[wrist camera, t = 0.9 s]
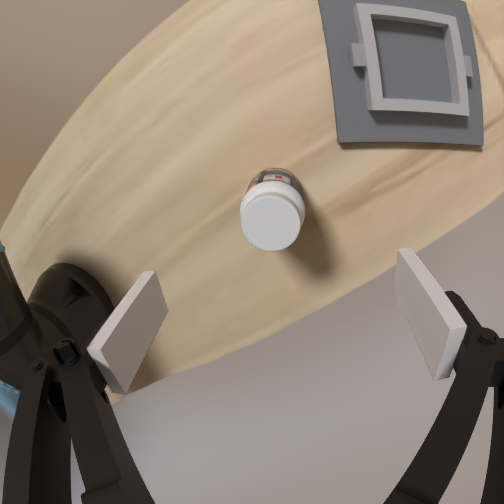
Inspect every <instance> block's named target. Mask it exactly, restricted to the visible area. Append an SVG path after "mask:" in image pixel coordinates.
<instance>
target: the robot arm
mask: <svg viewBox="0 0 504 504" xmlns="http://www.w3.org/2000/svg"><path fill="white" fill-rule="evenodd" d="M394 295H395V297H396V299H397V301H398V303H399V305H400V307H401V309H402V311H403V313H404V315H405V317H406V319H407V322H408V324H409V326H410V328H411V330H412V332H413V334H414V337H415V339H416V341H417V343H418V346H419V348H420V350H421V352H422V355H423V357H424V359H425V362H426V364H427V366H428V369H429V371H430V374H431V376H432V378H433V381H436V380H440V379H444V378H448V377H450V374H451V371H452V369H453V368H454V370H455V372H456V377H455V379H454V382H453V384H452V386H451V388H450V391H449V393H448V395H447V398H446V400H445V402H444V404H443V406H442V408H441V410H440V412H439V414H438V416H437V418H436V420H435V422H434V424H433V426H432V428H431V430H430V431H429V433H428V435H427V437H426V439H425V441H424V442H423V444H422V446H421V448H420V449H419V451H418V453H417V454H416V456H415V458H414V460H413V461H412V462H411V464H410V466H409V467H408V469H407V470H406V472H405V474H404V475H403V476H402V478H401V480H400V481H399V482H398V484H397V485H396V487H395V488H394V490H393V491H392V492H391V494H390V495H389V497H388V498H387V499H386V501H385V502H384V503H383V504H438V503H439V501H440V499H441V497H442V495H443V493H444V492H445V490H446V488H447V486H448V484H449V482H450V480H451V478H452V477H453V475H454V473H455V471H456V469H457V466H458V465H459V462H460V460H461V458H462V456H463V454H464V452H465V449H466V447H467V445H468V442H469V440H470V438H471V435H472V433H473V430H474V427H475V425H476V422H477V420H478V417H479V414H480V411H481V408H482V405H483V402H484V399H485V396H486V393H487V390H488V387H494V408H493V426H492V437H491V446H490V455H489V462H488V468H487V474H486V480H485V485H484V490H483V495H482V499H481V503H480V504H504V338H499V336H498V335H497V333H495V332H494V331H493V330H491V329H489V328H484V327H482V326H481V325H480V324H479V322H478V321H477V319H476V318H475V316H474V315H473V314H472V312H471V311H470V310H469V308H468V307H467V305H466V304H465V303H464V301H463V300H462V298H461V297H460V296H459V295H457V294H456V293H454V292H453V291H446V292H444V291H443V290H442V289H441V287H440V286H439V284H438V283H437V282H436V280H435V279H434V278H433V276H432V275H431V274H430V272H429V271H428V270H427V268H426V267H425V266H424V264H423V263H422V262H421V261H420V259H419V258H418V257H417V255H416V254H415V253H414V252H413V250H412V249H411V248H402V249H397V262H396V276H395V288H394ZM167 313H168V308H167V305H166V302H165V299H164V296H163V293H162V290H161V287H160V284H159V281H158V278H157V275H156V271H146V272H143V273H142V274H141V276H140V277H139V278H138V280H137V281H136V282H135V283H134V285H133V286H132V287H131V289H130V290H129V291H128V293H127V294H126V295H125V296H124V298H123V299H122V300H121V302H120V303H119V304H118V306H117V307H116V308H115V310H114V308H113V306H112V303H111V301H110V299H109V297H108V296H107V294H106V293H105V291H104V290H103V288H102V287H101V286H100V285H99V284H98V282H97V281H96V280H95V279H94V278H92V277H91V276H90V275H89V274H88V273H86V272H85V271H83V270H82V269H80V268H78V267H76V266H74V265H71V264H67V263H57V264H54V265H52V266H51V267H49V268H48V269H47V270H46V271H45V272H43V273H42V274H41V276H40V277H39V279H38V281H37V283H36V285H35V287H34V289H33V291H32V293H31V295H30V297H29V299H28V301H27V303H26V301H25V299H24V297H23V295H22V292H21V290H20V288H19V286H18V283H17V281H16V279H15V276H14V274H13V272H12V269H11V267H10V264H9V262H8V259H7V256H6V254H5V247H4V246H3V245H2V243H1V241H0V412H1V413H2V414H4V415H5V416H6V417H8V418H10V419H11V420H13V425H12V430H11V436H10V442H9V448H8V453H7V461H6V468H5V476H4V486H3V499H2V504H72V501H71V475H70V474H71V470H70V457H71V456H70V455H71V438H72V442H73V447H74V451H75V455H76V459H77V462H78V466H79V469H80V473H81V476H82V480H83V482H84V486H85V490H86V491H85V493H82V494H81V500H82V504H155V502H154V500H153V499H152V497H151V495H150V493H149V491H148V489H147V488H146V485H145V483H144V481H143V479H142V477H141V475H140V473H139V471H138V469H137V467H136V465H135V463H134V461H133V458H132V456H131V454H130V452H129V449H128V447H127V445H126V442H125V440H124V438H123V435H122V433H121V430H120V428H119V425H118V423H117V420H116V417H115V415H114V412H113V409H112V407H111V404H110V401H109V398H108V395H107V393H106V392H105V390H104V389H105V387H106V385H107V384H108V386H109V387H110V389H111V391H112V392H113V393H120V394H126V393H127V391H128V389H129V387H130V385H131V383H132V381H133V379H134V377H135V375H136V373H137V371H138V369H139V367H140V365H141V363H142V361H143V359H144V357H145V355H146V353H147V351H148V349H149V347H150V345H151V344H152V342H153V340H154V338H155V336H156V334H157V332H158V330H159V328H160V326H161V324H162V322H163V320H164V319H165V317H166V315H167Z"/></svg>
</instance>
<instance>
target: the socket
mask: <svg viewBox="0 0 504 504" xmlns="http://www.w3.org/2000/svg"><path fill="white" fill-rule="evenodd" d="M318 3H319V8H320V13H321V18H322V24H323V30H324V35H325V42H326V48H327V54H328V61H329V68H330V76H331V84H332V92H333V100H334V110H335V120H336V131H337V142H339V143H341V142H435V143H454V144H469V145H481V146H484V134H483V108H482V94H481V84H480V75H479V67H478V60H477V54H476V48H475V42H474V37H473V32H472V27H471V23H470V18H469V14H468V10H467V6H466V2H464V1H460V0H318Z"/></svg>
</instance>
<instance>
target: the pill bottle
mask: <svg viewBox="0 0 504 504" xmlns="http://www.w3.org/2000/svg"><path fill="white" fill-rule="evenodd" d="M240 217H241V225H242V230H243V233H244V235H245V237H246V238H247V240H248V241H249V242H250V243H251V244H252V245H254V246H255V247H257V248H259V249H261V250H265V251H278V250H282V249H284V248H287V247H288V246H290V245H291V244H292V243H293V242H294V241H295V240H296V238H297V236H298V234H299V232H300V228H301V226H302V224H303V222H304V218H305V203H304V198H303V193H302V188H301V185H300V182H299V180H298V179H297V178H296V176H295V175H294V174H293V173H291V172H290V171H288V170H286V169H284V168H280V167H271V168H266V169H264V170H262V171H260V172H259V173H258V174H256V175H255V176H254V178H253V179H252V181H251V182H250V185H249V187H248V189H247V191H246V193H245V195H244V197H243V199H242V202H241V205H240Z"/></svg>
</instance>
